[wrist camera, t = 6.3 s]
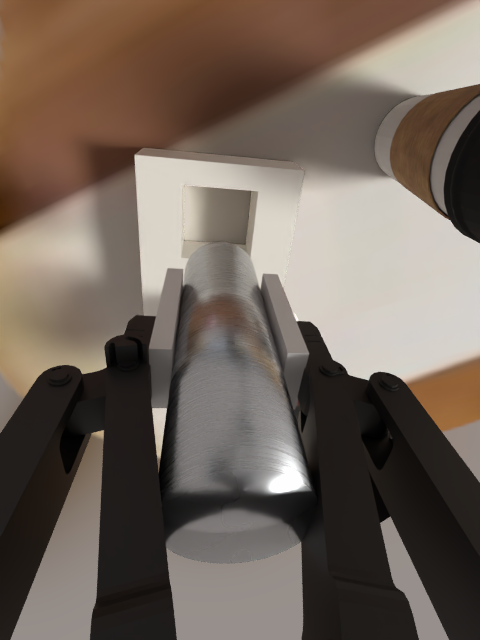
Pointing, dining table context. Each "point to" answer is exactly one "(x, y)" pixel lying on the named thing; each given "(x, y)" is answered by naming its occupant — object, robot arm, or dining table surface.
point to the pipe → (230, 423)
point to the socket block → (217, 172)
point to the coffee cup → (437, 153)
